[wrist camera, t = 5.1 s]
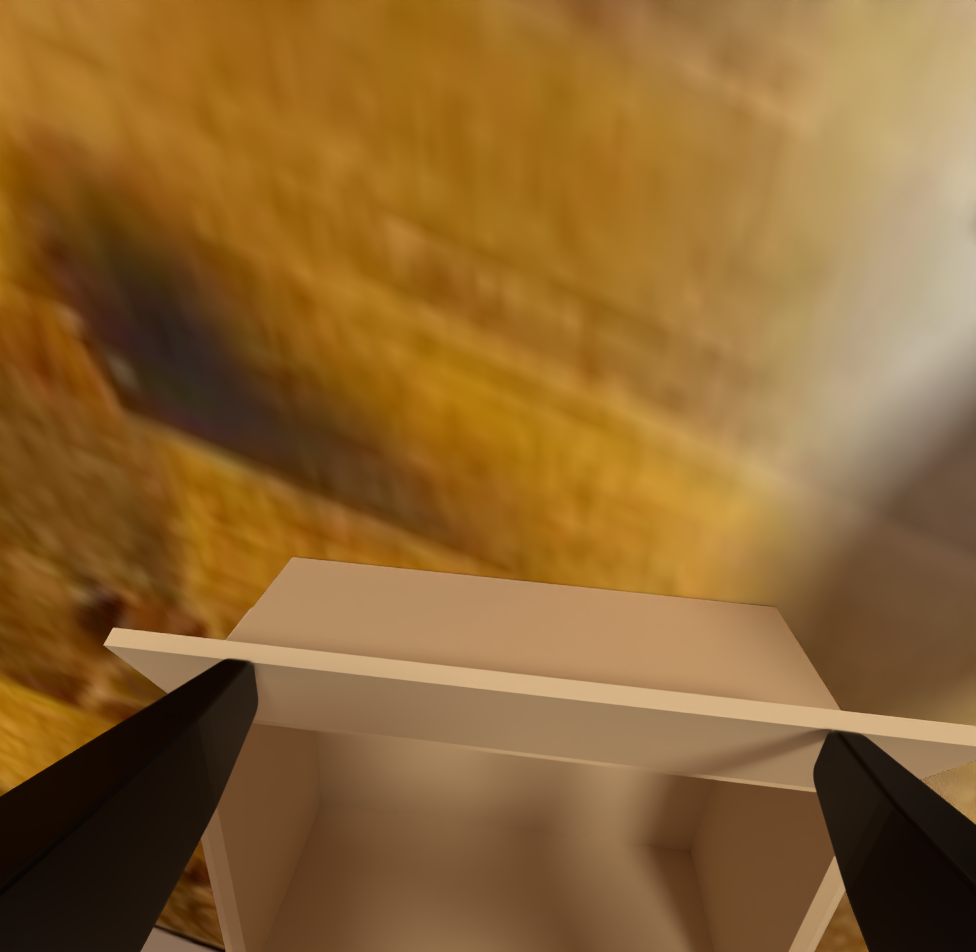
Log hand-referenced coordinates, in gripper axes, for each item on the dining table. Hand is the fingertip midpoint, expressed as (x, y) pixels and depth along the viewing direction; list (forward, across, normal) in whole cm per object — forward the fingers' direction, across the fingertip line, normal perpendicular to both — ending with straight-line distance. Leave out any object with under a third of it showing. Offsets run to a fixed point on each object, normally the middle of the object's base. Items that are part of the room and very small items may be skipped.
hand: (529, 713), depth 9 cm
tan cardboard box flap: (+1, 0, +1) cm, 1 cm away
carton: (+8, 0, +9) cm, 12 cm away
